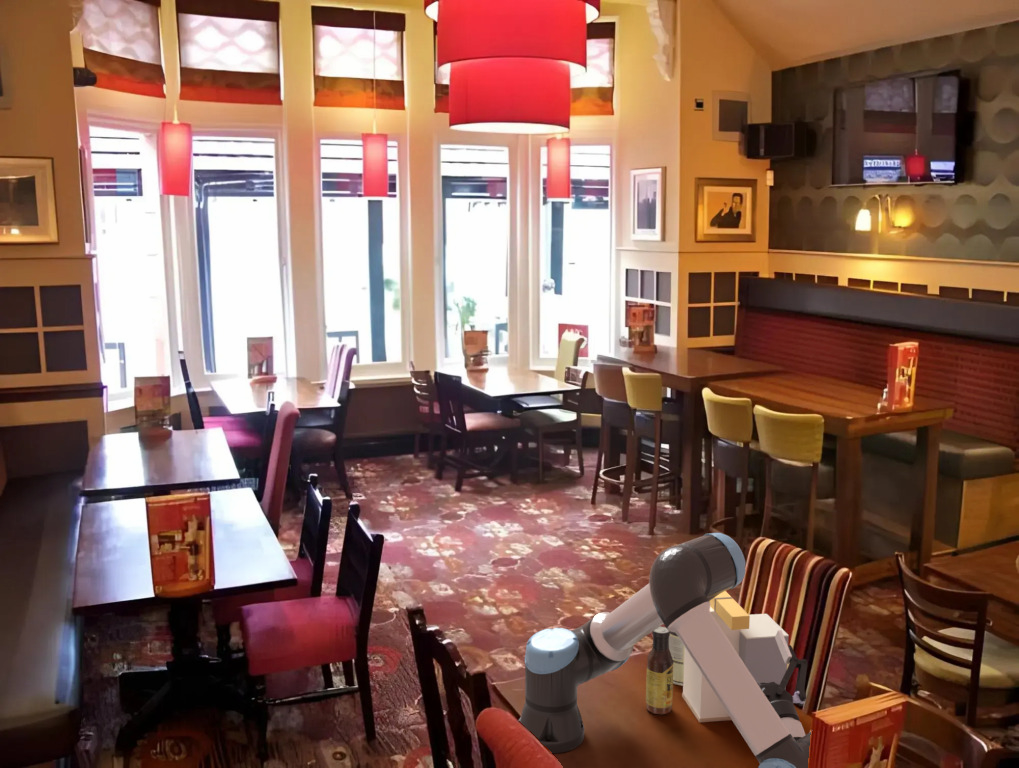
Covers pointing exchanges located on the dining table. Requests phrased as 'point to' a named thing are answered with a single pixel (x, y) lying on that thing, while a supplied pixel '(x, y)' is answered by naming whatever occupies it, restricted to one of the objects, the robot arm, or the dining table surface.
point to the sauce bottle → (659, 674)
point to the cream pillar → (697, 686)
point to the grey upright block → (762, 649)
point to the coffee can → (677, 658)
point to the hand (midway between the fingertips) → (747, 635)
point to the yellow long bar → (730, 611)
